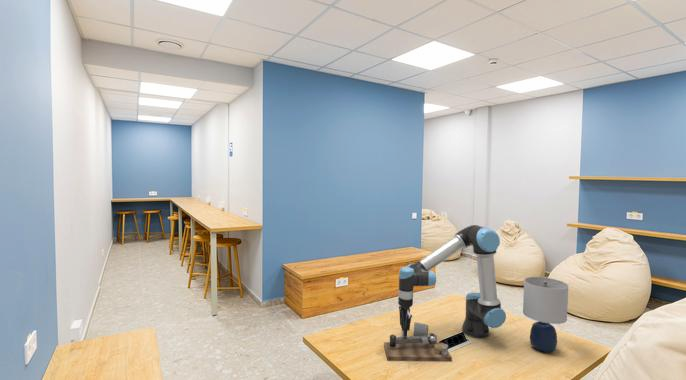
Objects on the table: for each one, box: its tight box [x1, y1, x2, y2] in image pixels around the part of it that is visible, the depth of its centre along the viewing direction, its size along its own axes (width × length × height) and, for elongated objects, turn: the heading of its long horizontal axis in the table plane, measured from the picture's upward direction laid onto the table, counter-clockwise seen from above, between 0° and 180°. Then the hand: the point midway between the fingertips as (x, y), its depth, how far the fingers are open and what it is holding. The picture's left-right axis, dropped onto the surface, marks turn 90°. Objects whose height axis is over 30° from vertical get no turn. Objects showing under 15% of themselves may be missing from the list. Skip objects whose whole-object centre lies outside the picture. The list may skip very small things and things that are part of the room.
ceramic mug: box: [412, 322, 429, 336], centre depth 203 cm, size 11×8×8 cm
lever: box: [389, 332, 438, 347], centre depth 185 cm, size 26×5×5 cm, turn 99°
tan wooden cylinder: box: [435, 344, 442, 354], centre depth 180 cm, size 4×4×4 cm
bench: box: [383, 341, 453, 362], centre depth 183 cm, size 32×15×6 cm, turn 90°
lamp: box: [522, 276, 569, 353], centre depth 188 cm, size 20×20×37 cm
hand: (404, 341), depth 187 cm, fingers closed
